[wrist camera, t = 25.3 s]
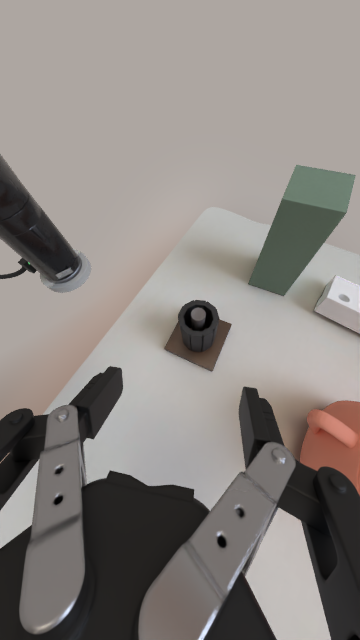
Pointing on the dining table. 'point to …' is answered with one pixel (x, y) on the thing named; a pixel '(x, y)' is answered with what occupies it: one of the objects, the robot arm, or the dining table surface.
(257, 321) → the dining table surface
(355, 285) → the bracket
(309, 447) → the teapot
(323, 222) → the rectangular block
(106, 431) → the dining table surface
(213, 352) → the peg stand
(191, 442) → the dining table surface
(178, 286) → the dining table surface
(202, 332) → the ring sleeve
